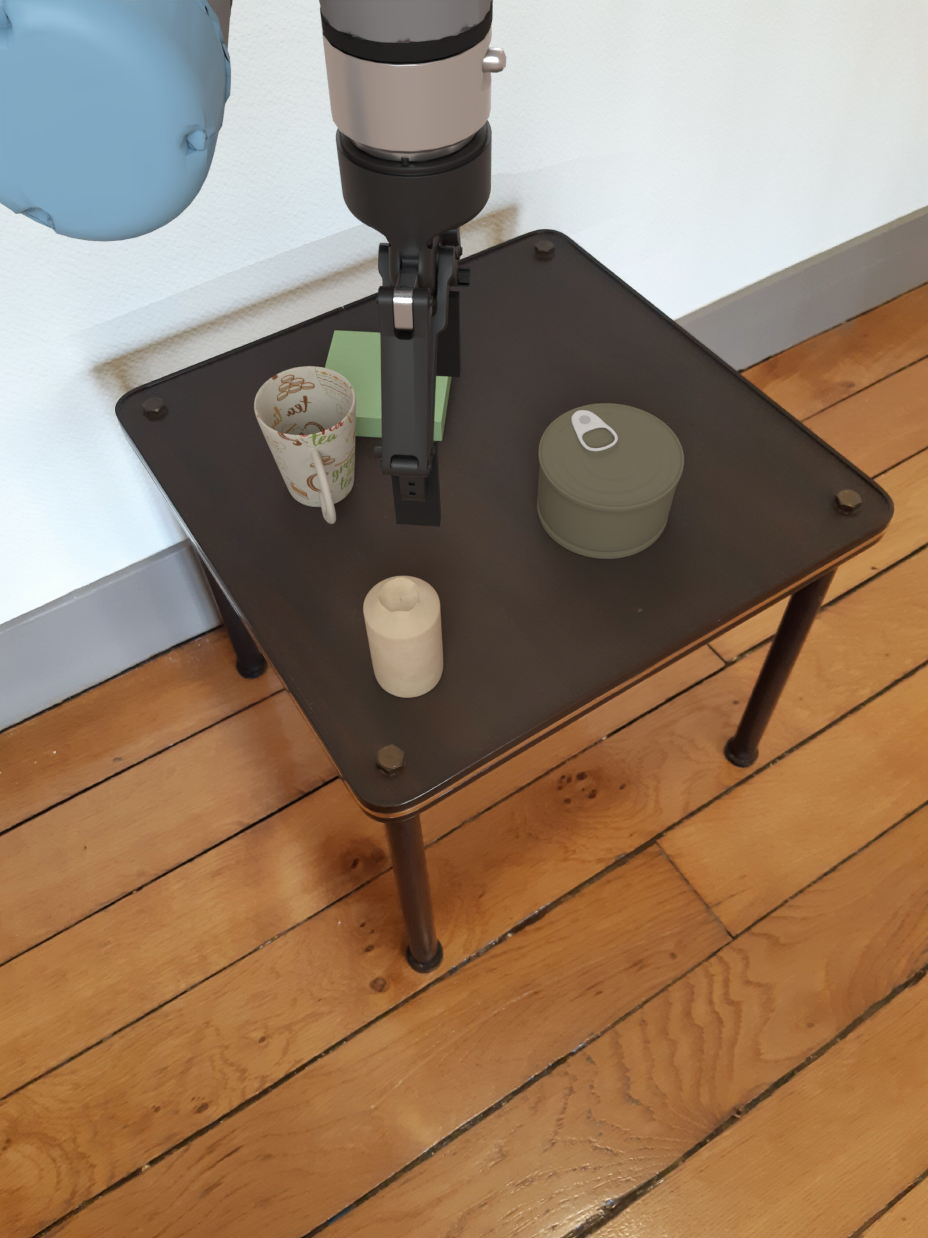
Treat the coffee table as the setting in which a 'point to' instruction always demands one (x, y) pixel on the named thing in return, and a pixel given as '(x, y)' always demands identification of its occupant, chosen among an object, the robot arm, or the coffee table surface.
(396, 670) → the candle
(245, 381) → the coffee table surface
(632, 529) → the can
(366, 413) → the foam pad
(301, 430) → the mug
